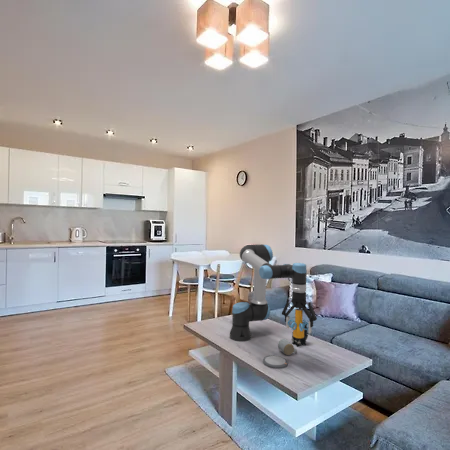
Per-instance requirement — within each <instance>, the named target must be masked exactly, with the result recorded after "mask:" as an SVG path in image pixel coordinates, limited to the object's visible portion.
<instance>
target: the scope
mask: <svg viewBox="0 0 450 450" xmlns="http://www.w3.org/2000/svg"><path fill="white" fill-rule="evenodd" d="M303 323H304V321H303ZM304 328H306V329H307V328H308V324H306V325H305V326H304ZM291 335H292V336H291V337H292V338H291V339H290V341H291V344H292V345H293V346H296V347H297V348H299V347H301V346H303V347H304V346H306V344H307V340H308V337H309V333H308V330H304V338H295V337H293V331H292V334H291Z"/></svg>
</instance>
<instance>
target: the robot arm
mask: <svg viewBox="0 0 450 450" xmlns="http://www.w3.org/2000/svg"><path fill="white" fill-rule="evenodd" d="M239 258H240V260H241V261H242V262H243V263H245V264H248V265H250V266H251V267H253V270H254V272H253V274H254V275H253V297H252V299H251V300H250V303H249V302H247V301H239V302H237V303H234V304H233V305H232V310H231V312H232V314H231V315H232V319H231V320H232V321H231V322H232V323H231V324H232V325H231V328H230V331H229V332H230V333H229V339H230V340H233V341H237V342H238V341H239V342H245V341H250V340H251V339H252V331H251V329H250V323H251V322H258V321H260V322H262V321H265V320H268V319H269V317H270V315H271V308H270V307H271V306H270V304H269V303H268V301H267V300H266V292H267V291H266V289H267V288H266V287H267V280H271V279H272V280H273V279H292V281H291V283H292V285H291V286H292V287H291V288H292V289H291V290H292V293H291V298H290V297H288V298H287V299H286V302H285V305H284V308H283V309H282V312H281V315H282V316H283V317H284V322H285V327H286V328H285V329H287V330H288V329H289V328H290V326H289V325H288V321H289V320H290V314H291V313H292V311H293V310H295V309H302V310H303V312H304V314H305V315H306V317H307V318H308V323H309V329H308V330H307V334H308V335H309V334H312V330H313V329H312V328H313V327H314V321H317V320H318V318H317V315H316V313H315V310H314V308H313V302H312V301H307V272H308V270H307V264H306V263H303V262H302V263H301V262H295V263H292V264H290V263H283V264H277V265H276V264H275V265H273V264H272V263H270V262H271V261H273V258H274V254H273V250H272V247H271V246H270V245H269V244H261V243H260V244H247V245H244V246H243V247H242V248H241V249H240V251H239ZM291 303H292V305H291V307H290V308H289V306H290V304H291ZM306 305H307V306H306ZM288 308H289V309H288Z"/></svg>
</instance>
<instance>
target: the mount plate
mask: <svg viewBox="0 0 450 450" xmlns="http://www.w3.org/2000/svg"><path fill="white" fill-rule="evenodd" d="M288 361H289V360H288V359H287V358H285V357H283V356H281V355H275V354H274V355H267V356H264V357H263V358H262V364H263V365H264V366H266V367H268V368H272V369H284V368H286V367H288V364H289V362H288Z"/></svg>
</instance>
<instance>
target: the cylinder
mask: <svg viewBox="0 0 450 450" xmlns="http://www.w3.org/2000/svg"><path fill="white" fill-rule="evenodd" d="M303 312H304V311H303V310H302V309H299V308H294V315H295V316H294V319H289V321H288V325H289V328H291V330H292V332H293V337H295V338H304V330H307V331H308V330H309V322H306V320H305V319H303ZM290 322H292V323H291V324H290ZM303 322H304V323H303ZM306 324H307V329H306V328H304V326H305V325H306Z"/></svg>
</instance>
